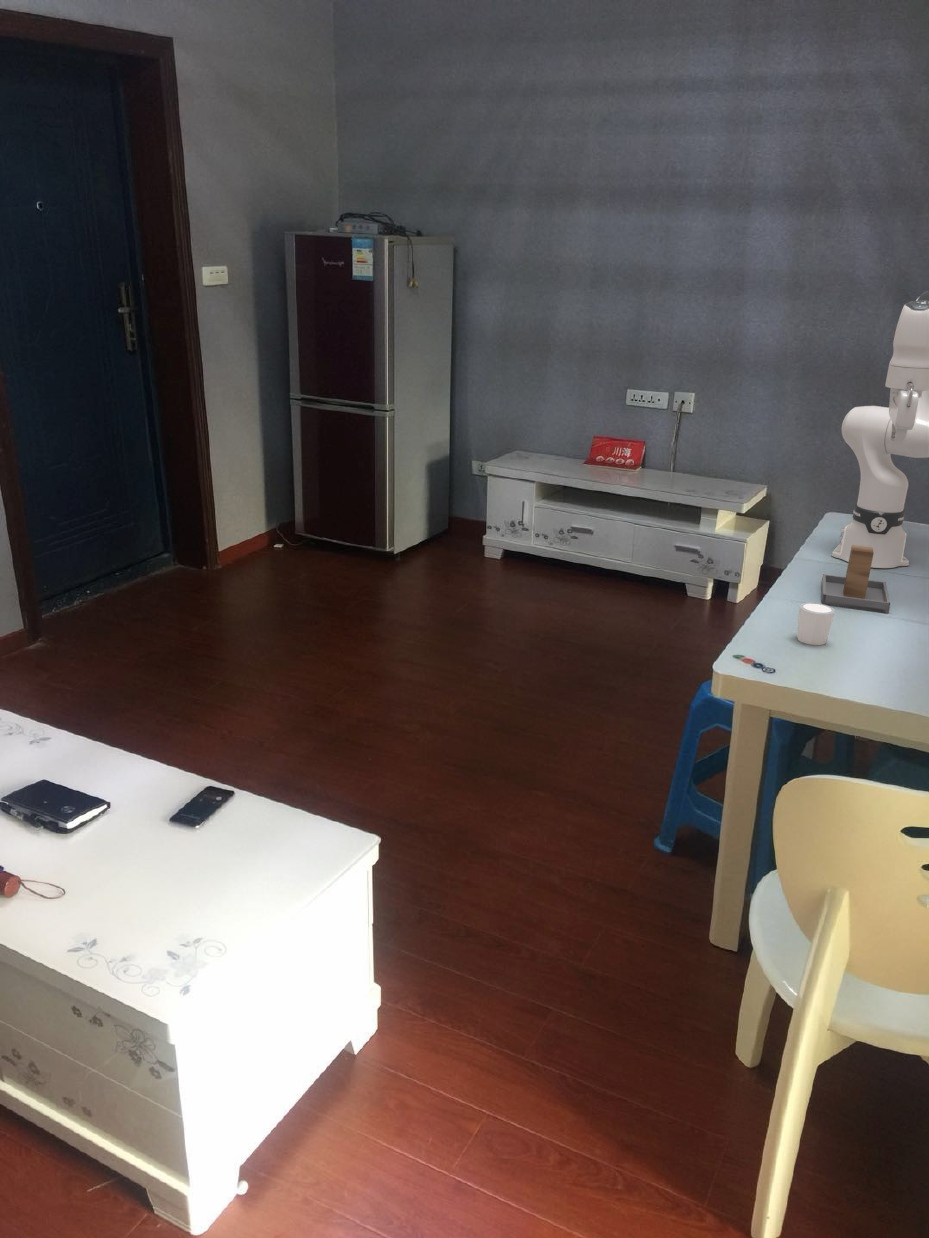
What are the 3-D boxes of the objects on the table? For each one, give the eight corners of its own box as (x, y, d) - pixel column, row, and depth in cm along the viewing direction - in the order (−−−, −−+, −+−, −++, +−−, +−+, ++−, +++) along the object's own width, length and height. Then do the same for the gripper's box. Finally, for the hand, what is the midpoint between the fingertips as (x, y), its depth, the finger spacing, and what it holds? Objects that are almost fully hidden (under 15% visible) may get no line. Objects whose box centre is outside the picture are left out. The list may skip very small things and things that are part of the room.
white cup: (829, 636, 198) (835, 604, 196) (829, 648, 192) (835, 615, 189) (794, 631, 200) (799, 600, 198) (793, 643, 194) (799, 610, 191)
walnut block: (843, 590, 224) (851, 545, 220) (863, 593, 223) (872, 547, 219) (843, 596, 220) (852, 550, 216) (864, 599, 219) (873, 552, 215)
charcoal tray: (821, 583, 231) (822, 574, 230) (883, 591, 227) (885, 582, 226) (821, 604, 217) (823, 594, 216) (888, 613, 213) (890, 603, 212)
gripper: (929, 386, 197) (915, 453, 202) (919, 376, 215) (907, 438, 220) (896, 384, 199) (883, 451, 204) (889, 374, 217) (878, 435, 222)
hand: (896, 444), depth 212 cm, fingers open, 8 cm apart
